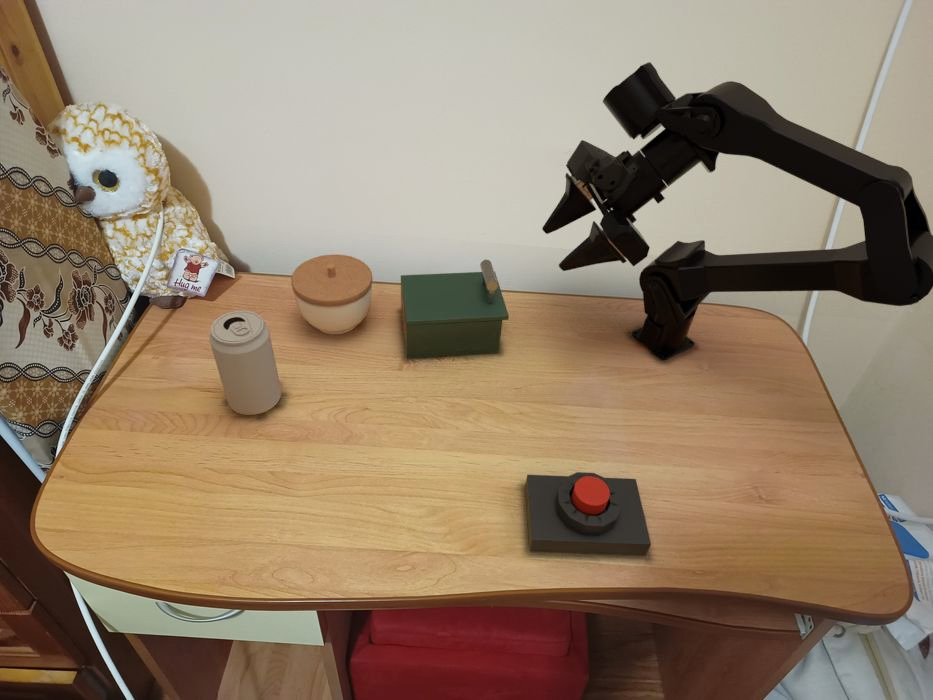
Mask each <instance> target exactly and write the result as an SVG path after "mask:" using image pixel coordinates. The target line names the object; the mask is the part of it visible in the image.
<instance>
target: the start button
mask: <svg viewBox="0 0 933 700" xmlns="http://www.w3.org/2000/svg"><path fill="white" fill-rule="evenodd" d="M609 497H610V491H609V488H608V486H607V485H606V483H605V482H603V481H602V480H601V479H599V478H597V477H593V476H585V477H582V478H580V479H579V480H578V481H577V482H576V484H575V486H574V490H573V493H572V502H573V504H574V506H575V507H576V508H577V509H578V510H579V511H580V512H582V513H584V514H587V515H597V514H600V513H601V512H603V511H604V510H605V508H606V505H607V503H608V500H609Z"/></svg>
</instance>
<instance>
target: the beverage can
mask: <svg viewBox="0 0 933 700" xmlns="http://www.w3.org/2000/svg"><path fill="white" fill-rule="evenodd" d="M209 343H210V347H211V351H212V354H213V358H214V361H215V365H216V367H217V371H218V375H219V377H220V382H221V384H222V388H223V392H224V395H225V397H226V402H227V404H228V406H229V408H230V409H231V410H232V411H234V412H236V413H238V414H240V415H245V416H253V415H261V414H263V413H266V412H268V411H270V410H272V408H274V407H275V406H276V405H277V404H278V402H279V401H280V400H281V397H282V387H281V382H280V377H279V372H278V368H277V362H276V357H275V354H274V348H273V343H272V338H271V332H270V328H269V326H268V325H267V323H266V322H265V321H264V318H263V317H262V316H261V315H260V314H258V313H257V312H254V311H251V310H242V309H241V310H233V311H229V312H226V313H224V314H222V315H219V316H218V317H217V318H216V319H215V320H214V321H213V322H212V324H211V326H210V334H209Z"/></svg>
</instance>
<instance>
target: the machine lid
mask: <svg viewBox="0 0 933 700" xmlns="http://www.w3.org/2000/svg"><path fill="white" fill-rule="evenodd" d="M479 267H480V270H481V271H472V272H471V271H469V272H449V273H447V272H446V273H426V274H425V273H424V274H423V273H422V274H421V273H420V274H403V275H402V274H401V275H400V287H401V286H402V294H403V302H404V310H405V319H406V325H421V324H440V323H458V322H477V321H495V320H502V321H508V320H509V317H510V315H509V313H508V309H507V305H506V303H505V299H504V296H503V293H502V290H501V287H500V283H499V280H498V276H497V273H496V271H495V270H494V267H493V263H492V261H491V260H489V259H483V260H482V261H480V264H479Z"/></svg>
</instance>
